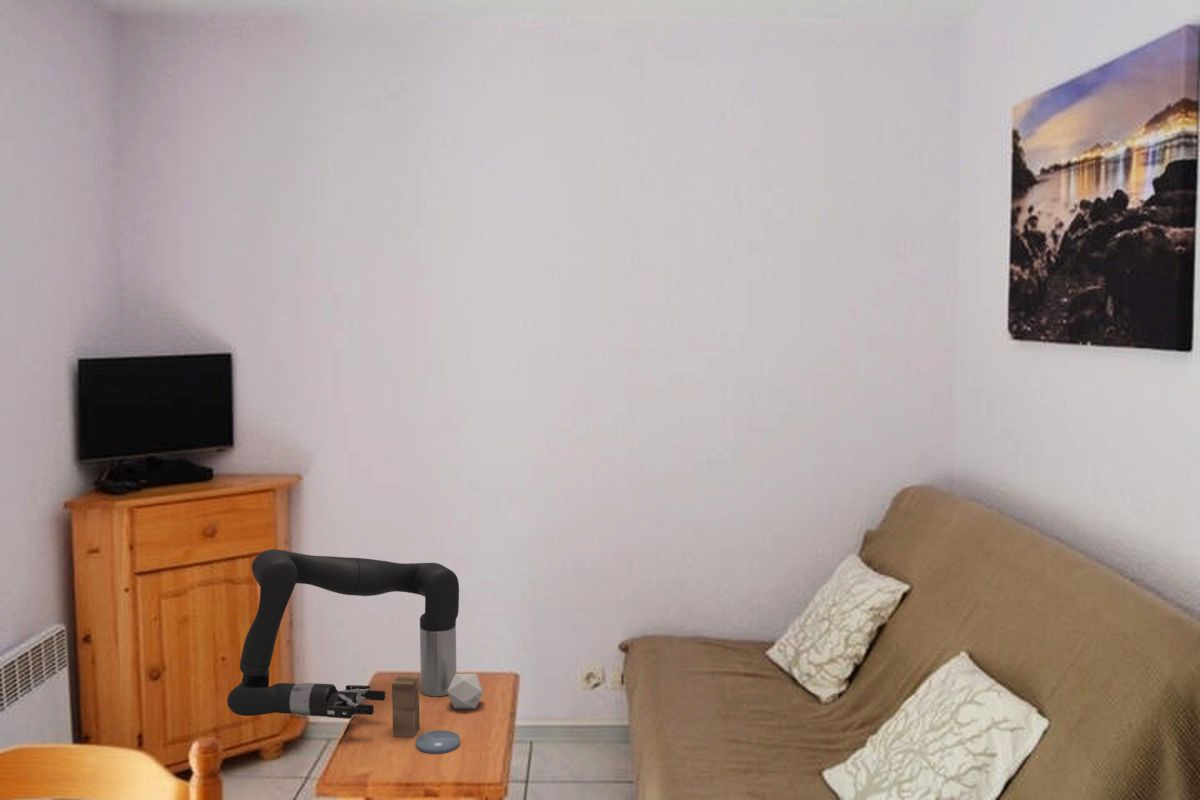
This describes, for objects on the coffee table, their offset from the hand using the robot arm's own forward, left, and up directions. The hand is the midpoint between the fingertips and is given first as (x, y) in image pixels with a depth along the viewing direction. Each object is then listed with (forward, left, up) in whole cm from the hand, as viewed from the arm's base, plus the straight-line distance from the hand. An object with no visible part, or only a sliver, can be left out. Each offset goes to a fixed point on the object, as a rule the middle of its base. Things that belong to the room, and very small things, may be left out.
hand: (379, 702), depth 259 cm
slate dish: (+10, +13, -7) cm, 18 cm away
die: (-11, +21, -7) cm, 25 cm away
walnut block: (+2, +6, -7) cm, 10 cm away
